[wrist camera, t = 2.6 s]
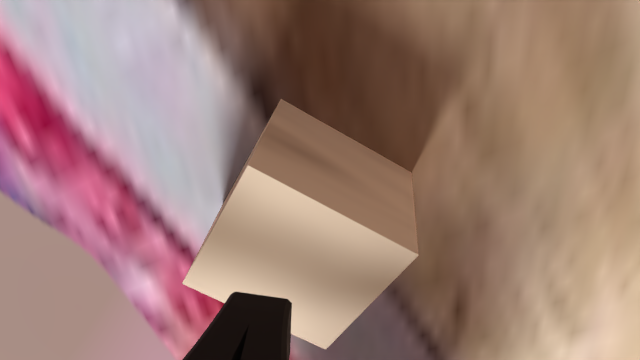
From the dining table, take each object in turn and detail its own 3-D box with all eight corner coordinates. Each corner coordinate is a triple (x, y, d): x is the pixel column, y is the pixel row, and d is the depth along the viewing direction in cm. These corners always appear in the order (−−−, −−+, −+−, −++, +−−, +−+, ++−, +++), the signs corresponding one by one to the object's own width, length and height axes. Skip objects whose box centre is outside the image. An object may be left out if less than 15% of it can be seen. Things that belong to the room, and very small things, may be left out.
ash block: (337, 259, 21) (325, 349, 17) (223, 202, 20) (182, 283, 16) (411, 170, 18) (418, 254, 14) (281, 97, 17) (247, 164, 13)
